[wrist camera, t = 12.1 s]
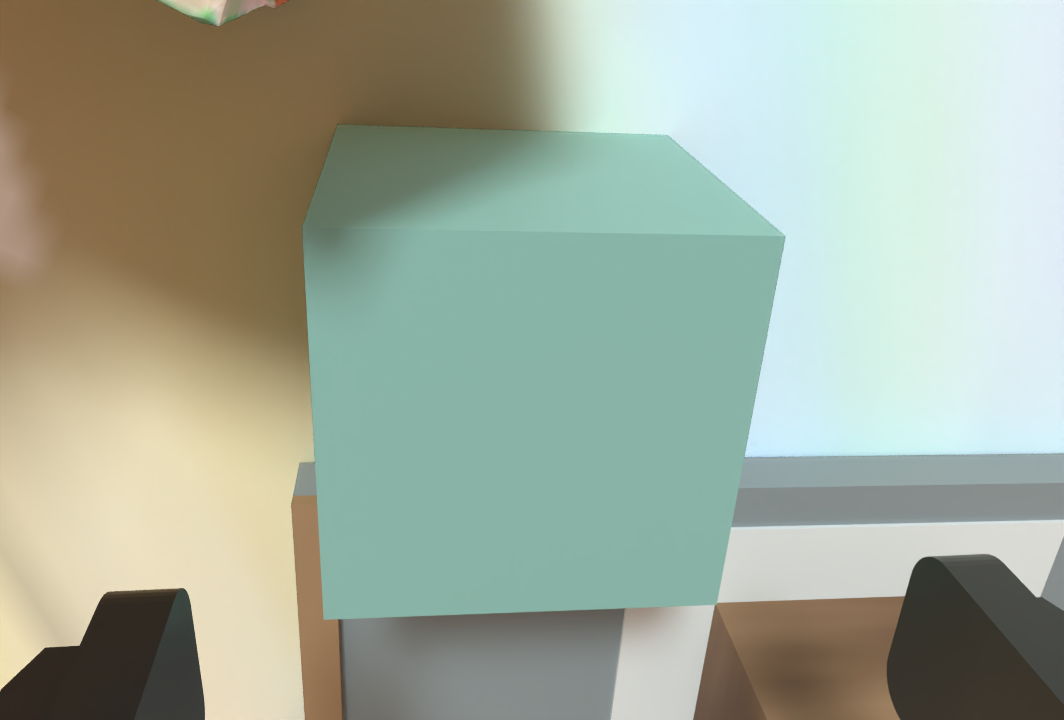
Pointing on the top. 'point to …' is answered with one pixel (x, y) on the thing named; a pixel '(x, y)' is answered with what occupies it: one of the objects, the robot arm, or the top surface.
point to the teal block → (528, 369)
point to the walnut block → (799, 660)
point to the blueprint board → (682, 631)
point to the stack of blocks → (218, 9)
